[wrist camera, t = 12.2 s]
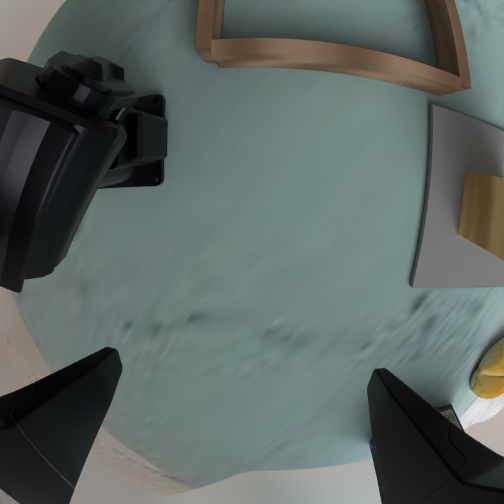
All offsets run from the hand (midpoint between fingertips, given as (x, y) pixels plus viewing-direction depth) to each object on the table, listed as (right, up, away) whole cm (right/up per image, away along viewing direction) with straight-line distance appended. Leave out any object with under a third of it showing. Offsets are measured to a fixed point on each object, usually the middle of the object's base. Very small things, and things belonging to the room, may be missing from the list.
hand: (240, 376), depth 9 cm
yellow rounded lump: (+30, -9, +14) cm, 35 cm away
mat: (+19, +8, +9) cm, 22 cm away
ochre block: (+19, +8, +8) cm, 22 cm away
